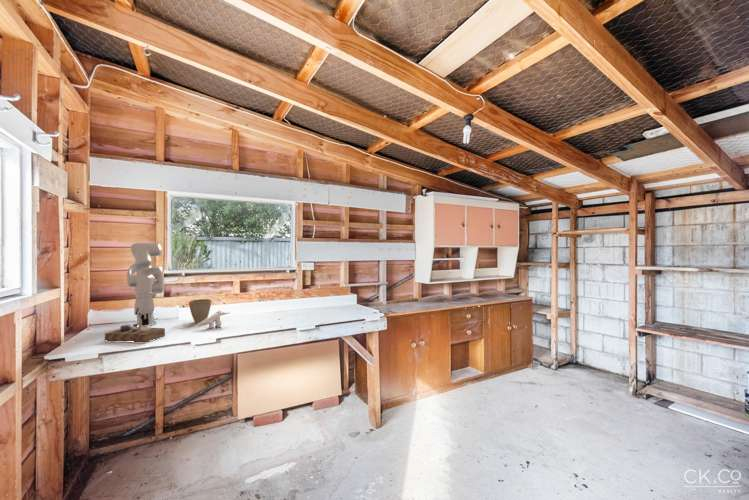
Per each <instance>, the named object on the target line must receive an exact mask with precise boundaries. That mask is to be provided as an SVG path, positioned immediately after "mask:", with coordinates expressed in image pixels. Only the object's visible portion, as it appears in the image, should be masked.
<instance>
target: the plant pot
mask: <svg viewBox="0 0 749 500" xmlns="http://www.w3.org/2000/svg"><path fill="white" fill-rule="evenodd" d="M188 305H189V310H190V315H191V317H192V319H193V321H194V323H196V324H198V323H200V322H202V321H203V320H205V319H206V318H209V314H210V310H211V306H212V299H210V298H209V299H208V298H207V299H206V298H205V299H204V298H202V299H193V300H189V301H188Z"/></svg>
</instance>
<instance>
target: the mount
mask: <svg viewBox="0 0 749 500" xmlns="http://www.w3.org/2000/svg"><path fill="white" fill-rule="evenodd" d="M138 328H139V330H138V331H132V326H130V330H129V331H123V332H122V331H121V328H118V329H116V330H112V331H108V332H105V333H104V341H105V340H107V341H134V342H148V341H150V340H153V339H156V340H158V339H161V338H163V337H165V336H166V328H165V327H150V331H148V332H141V327H138ZM160 337H161V338H160ZM157 338H158V339H157ZM153 341H154V340H153ZM150 342H151V341H150ZM148 343H149V342H148Z"/></svg>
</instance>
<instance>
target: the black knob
mask: <svg viewBox="0 0 749 500" xmlns="http://www.w3.org/2000/svg"><path fill="white" fill-rule="evenodd" d="M130 327H131V324H124V325H120V329H121V331H122V332H123V331H129V330H130Z"/></svg>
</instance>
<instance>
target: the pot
mask: <svg viewBox="0 0 749 500" xmlns="http://www.w3.org/2000/svg"><path fill="white" fill-rule="evenodd" d="M131 327H132V331H138V330H139V328H138V324H137V323H134V324H133V325H132V326H131Z"/></svg>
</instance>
